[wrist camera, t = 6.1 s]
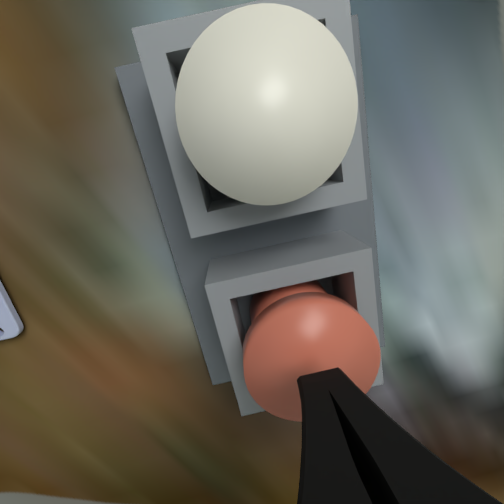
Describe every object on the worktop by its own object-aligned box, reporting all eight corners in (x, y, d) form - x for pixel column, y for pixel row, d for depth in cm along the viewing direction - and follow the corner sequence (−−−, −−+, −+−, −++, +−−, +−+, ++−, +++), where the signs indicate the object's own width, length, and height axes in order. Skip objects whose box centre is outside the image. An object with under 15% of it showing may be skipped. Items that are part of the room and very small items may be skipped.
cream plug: (211, 203, 13) (202, 221, 9) (180, 77, 11) (150, 26, 7) (321, 178, 13) (365, 185, 9) (304, 50, 11) (347, -17, 7)
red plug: (251, 360, 15) (259, 434, 11) (229, 274, 14) (229, 322, 10) (342, 339, 15) (385, 405, 11) (331, 252, 14) (374, 289, 10)
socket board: (213, 377, 17) (208, 436, 13) (119, 72, 12) (72, 32, 8) (379, 340, 17) (420, 387, 13) (351, 21, 12) (402, -40, 9)
